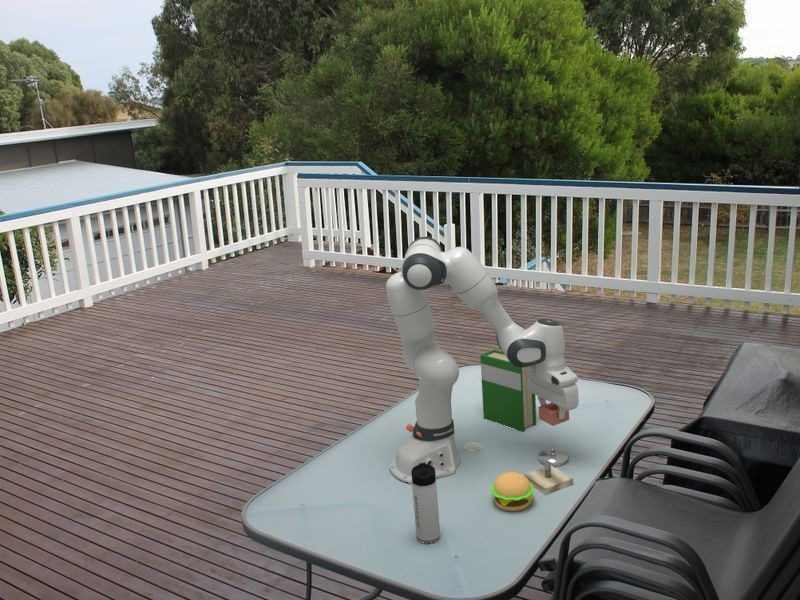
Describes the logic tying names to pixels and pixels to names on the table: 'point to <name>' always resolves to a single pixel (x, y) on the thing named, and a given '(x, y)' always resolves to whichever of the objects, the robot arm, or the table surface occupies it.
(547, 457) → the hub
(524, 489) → the hamburger
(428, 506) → the travel mug
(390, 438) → the table surface
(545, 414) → the brown square ring block
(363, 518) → the table surface
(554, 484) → the stand
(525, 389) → the hardback book
